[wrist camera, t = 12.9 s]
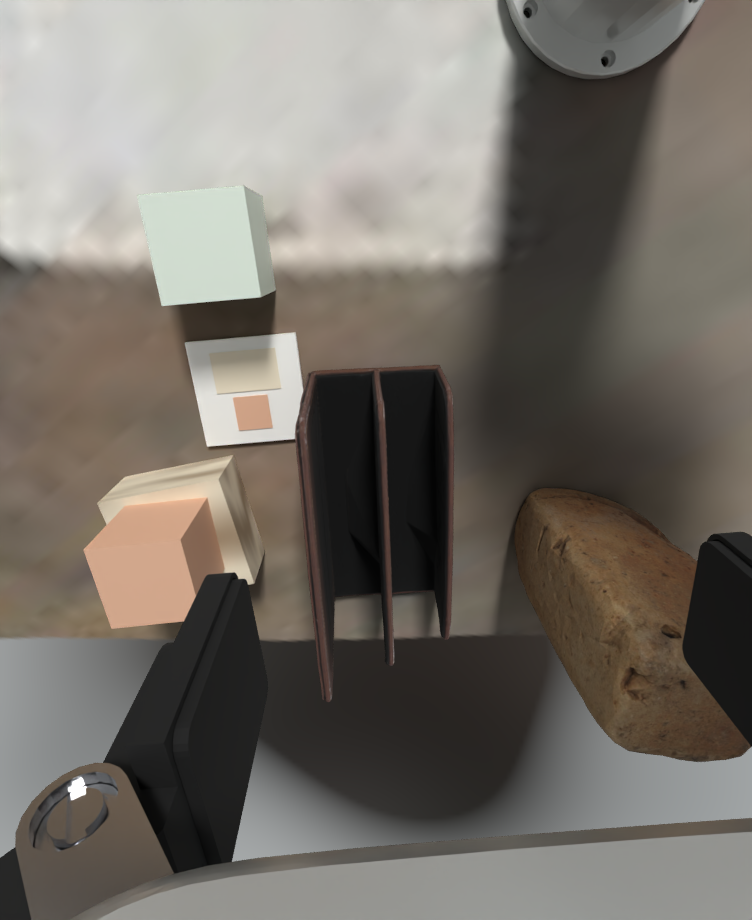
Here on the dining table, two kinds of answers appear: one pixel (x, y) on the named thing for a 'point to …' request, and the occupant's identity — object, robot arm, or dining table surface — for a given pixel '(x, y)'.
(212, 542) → the terracotta cube
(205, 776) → the robot arm
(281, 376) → the card
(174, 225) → the sage cube
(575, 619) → the block
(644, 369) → the dining table surface
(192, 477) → the birch block
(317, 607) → the letter holder
